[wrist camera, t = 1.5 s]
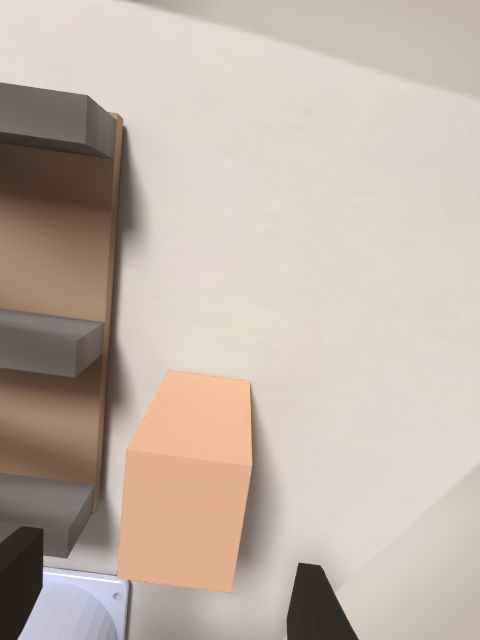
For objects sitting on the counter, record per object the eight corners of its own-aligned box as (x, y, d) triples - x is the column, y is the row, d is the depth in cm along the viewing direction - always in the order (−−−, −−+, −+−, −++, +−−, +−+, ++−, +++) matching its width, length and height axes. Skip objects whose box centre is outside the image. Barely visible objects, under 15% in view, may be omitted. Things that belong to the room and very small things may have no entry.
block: (236, 470, 20) (231, 592, 13) (159, 460, 20) (116, 578, 13) (249, 381, 19) (252, 466, 12) (169, 370, 19) (126, 449, 12)
